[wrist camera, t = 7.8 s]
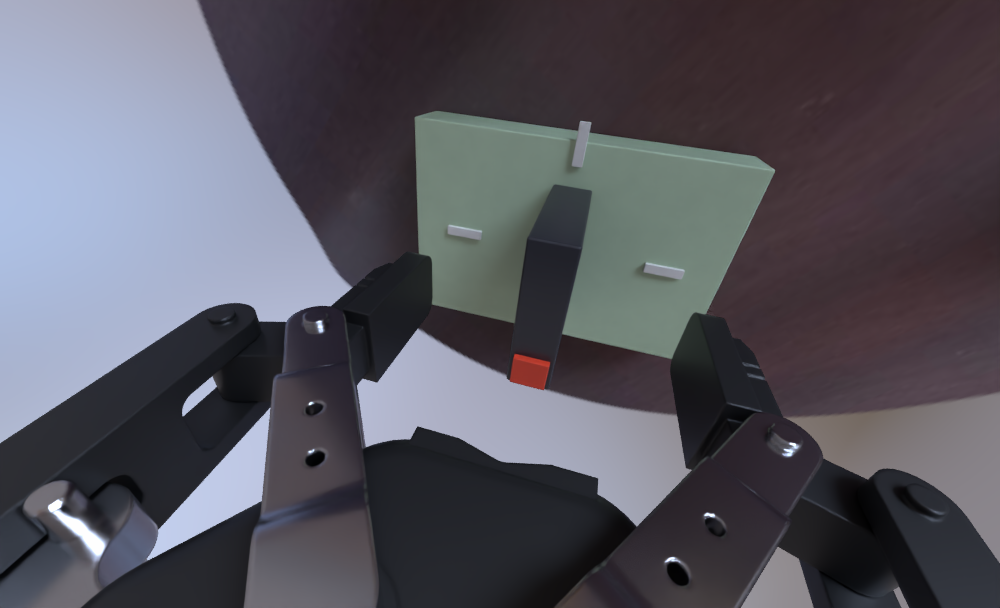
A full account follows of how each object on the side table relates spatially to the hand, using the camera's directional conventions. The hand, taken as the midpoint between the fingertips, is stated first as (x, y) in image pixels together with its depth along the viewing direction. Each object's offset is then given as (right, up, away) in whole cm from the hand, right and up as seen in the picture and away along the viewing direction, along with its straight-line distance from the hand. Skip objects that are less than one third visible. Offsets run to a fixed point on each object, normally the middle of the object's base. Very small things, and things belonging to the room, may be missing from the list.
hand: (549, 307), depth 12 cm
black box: (+1, +2, +3) cm, 4 cm away
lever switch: (+1, +3, +5) cm, 6 cm away
